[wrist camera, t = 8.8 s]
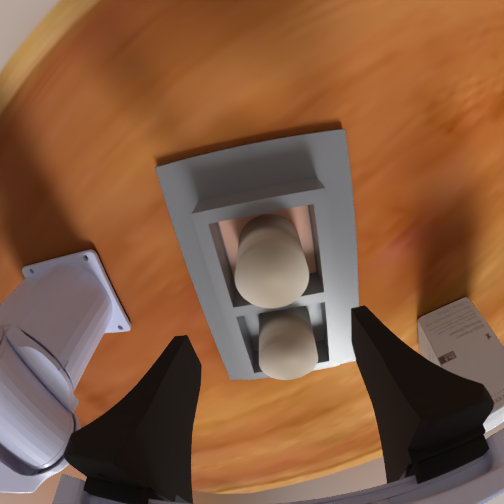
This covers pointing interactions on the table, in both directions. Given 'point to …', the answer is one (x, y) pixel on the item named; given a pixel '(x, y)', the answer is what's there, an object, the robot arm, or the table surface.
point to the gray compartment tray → (261, 203)
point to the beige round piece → (286, 343)
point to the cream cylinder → (270, 262)
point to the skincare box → (465, 349)
